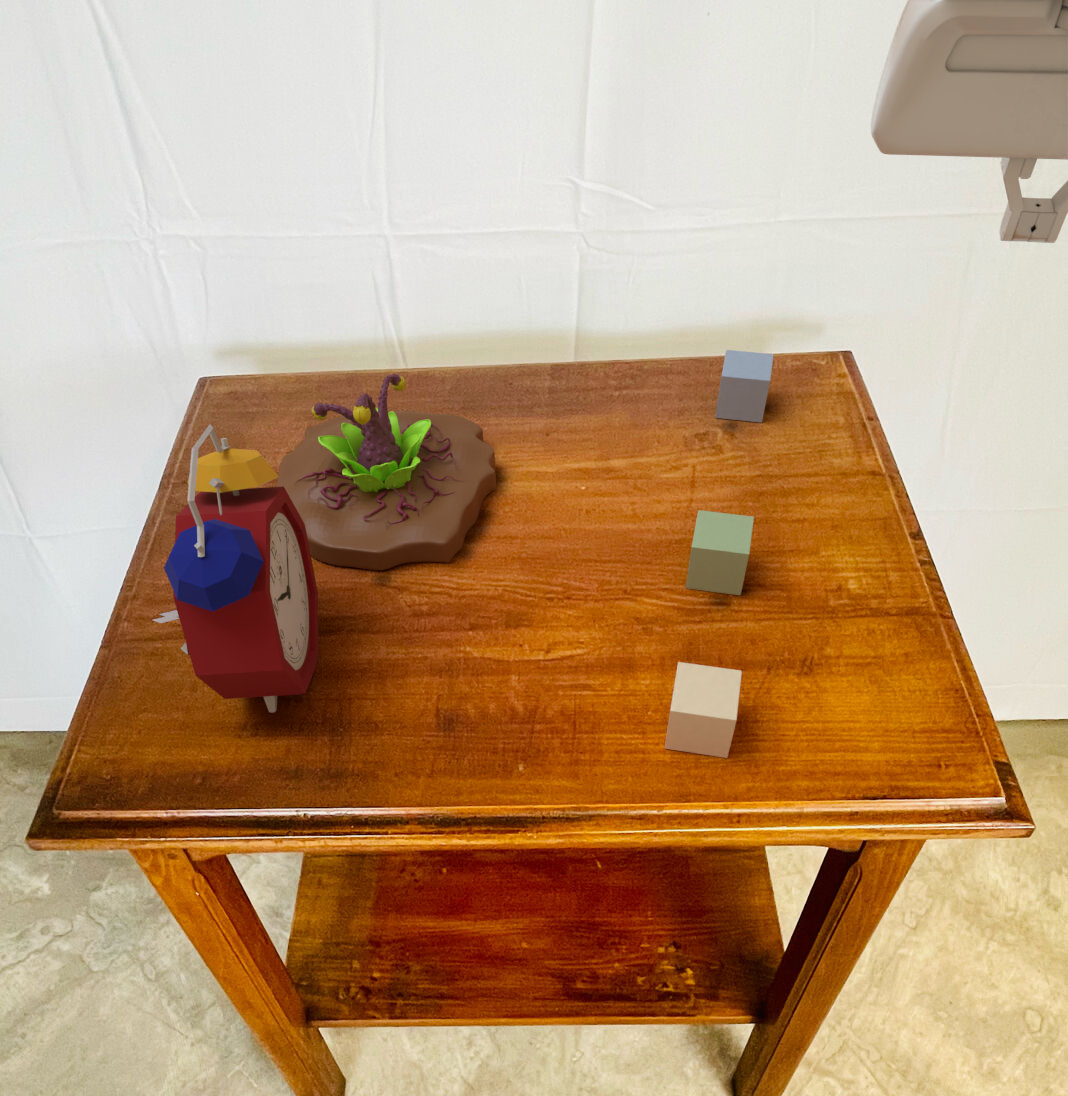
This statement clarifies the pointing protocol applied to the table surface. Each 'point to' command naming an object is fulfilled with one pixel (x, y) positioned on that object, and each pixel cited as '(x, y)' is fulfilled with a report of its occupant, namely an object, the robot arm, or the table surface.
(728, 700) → the cream block
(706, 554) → the sage block
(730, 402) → the blue-grey block
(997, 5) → the robot arm
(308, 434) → the plant
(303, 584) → the alarm clock
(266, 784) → the table surface
